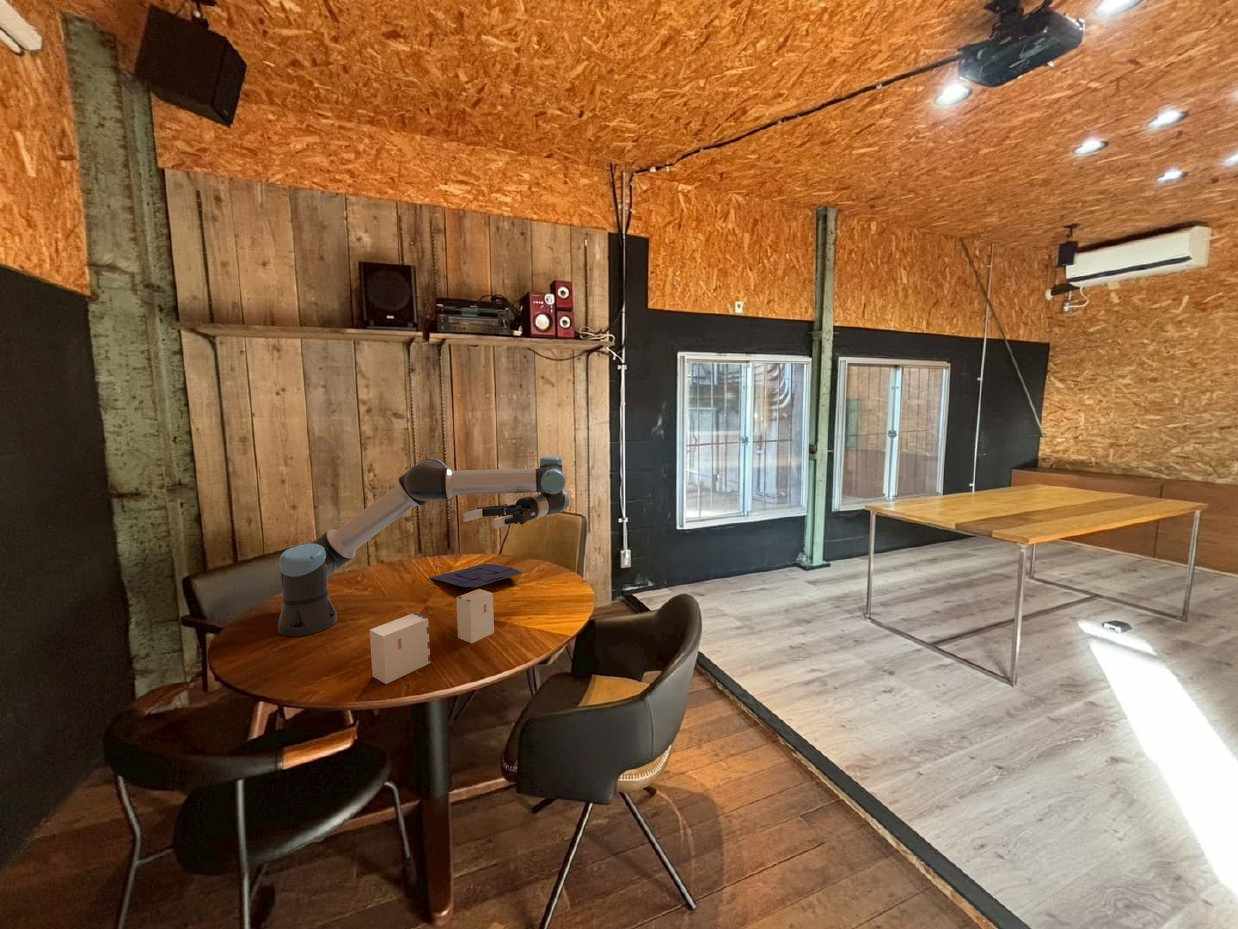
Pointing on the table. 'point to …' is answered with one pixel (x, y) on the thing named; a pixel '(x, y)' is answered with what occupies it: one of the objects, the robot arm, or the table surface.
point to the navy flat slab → (478, 575)
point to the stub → (475, 615)
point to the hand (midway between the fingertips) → (478, 520)
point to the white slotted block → (399, 647)
